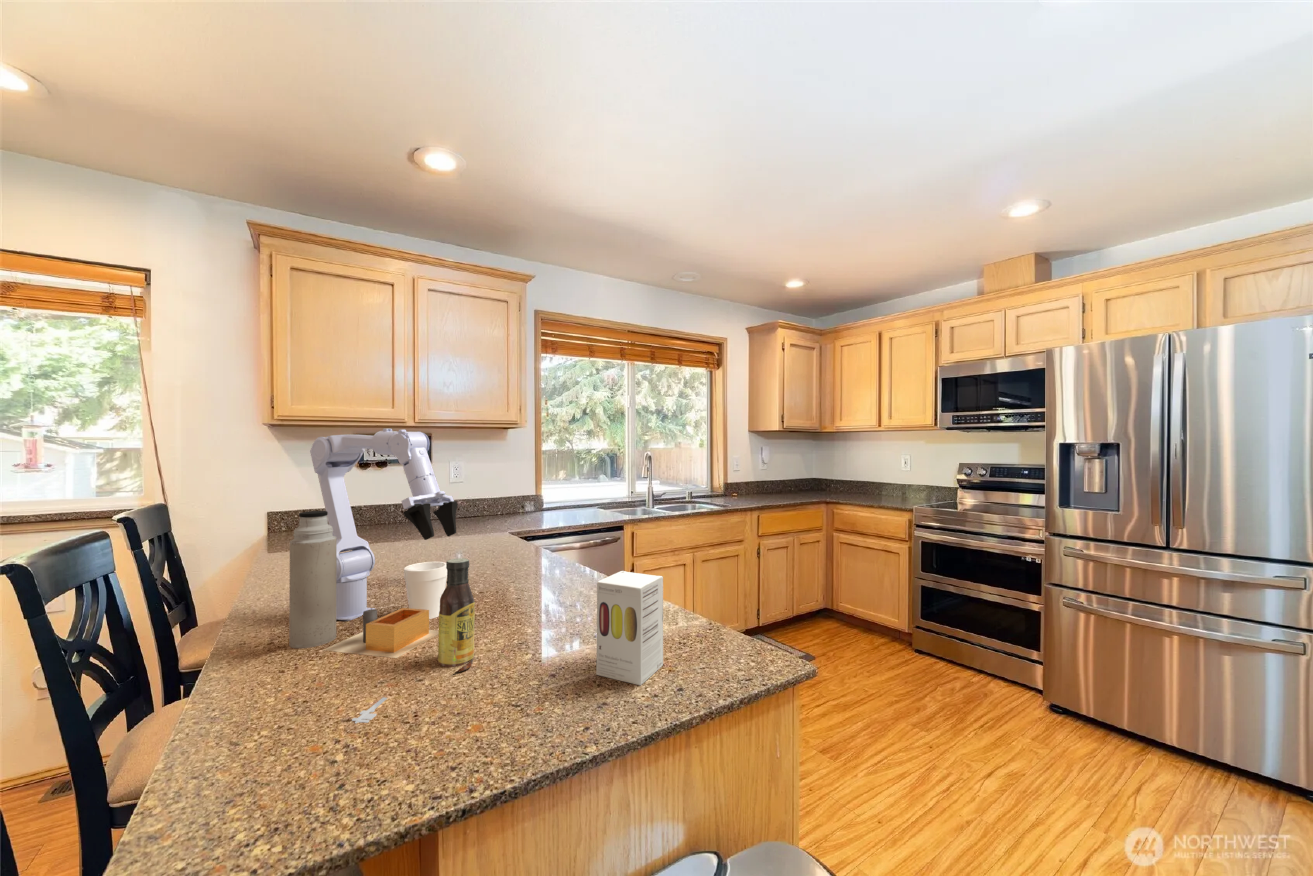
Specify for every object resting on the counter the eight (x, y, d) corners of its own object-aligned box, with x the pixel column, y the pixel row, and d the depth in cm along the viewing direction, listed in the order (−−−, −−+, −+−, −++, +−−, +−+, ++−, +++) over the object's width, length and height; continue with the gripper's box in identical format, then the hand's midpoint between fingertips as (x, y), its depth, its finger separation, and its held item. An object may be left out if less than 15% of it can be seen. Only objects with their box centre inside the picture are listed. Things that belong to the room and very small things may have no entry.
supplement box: (594, 675, 90) (594, 581, 90) (620, 656, 98) (620, 569, 98) (642, 686, 86) (641, 587, 86) (664, 665, 94) (664, 574, 94)
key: (411, 687, 87) (393, 686, 87) (411, 681, 87) (393, 680, 87) (366, 726, 75) (345, 725, 75) (366, 720, 75) (345, 719, 75)
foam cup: (456, 619, 120) (456, 564, 120) (419, 631, 112) (419, 573, 112) (431, 612, 125) (431, 560, 125) (395, 623, 117) (395, 567, 117)
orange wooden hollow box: (402, 631, 108) (402, 607, 108) (429, 633, 106) (429, 610, 107) (365, 649, 98) (365, 624, 98) (394, 652, 97) (394, 626, 97)
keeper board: (322, 657, 98) (322, 619, 98) (377, 631, 112) (377, 598, 112) (396, 666, 94) (396, 625, 94) (444, 638, 108) (444, 603, 108)
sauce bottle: (461, 676, 90) (461, 565, 90) (430, 673, 91) (430, 564, 91) (481, 661, 96) (481, 557, 96) (452, 658, 97) (452, 556, 98)
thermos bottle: (310, 639, 107) (310, 508, 108) (345, 640, 107) (345, 509, 107) (279, 655, 100) (279, 513, 100) (316, 656, 99) (316, 514, 99)
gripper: (413, 472, 106) (433, 532, 104) (456, 473, 120) (475, 526, 118) (387, 485, 107) (406, 545, 105) (432, 485, 121) (450, 538, 119)
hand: (441, 536), depth 111 cm, fingers open, 7 cm apart
